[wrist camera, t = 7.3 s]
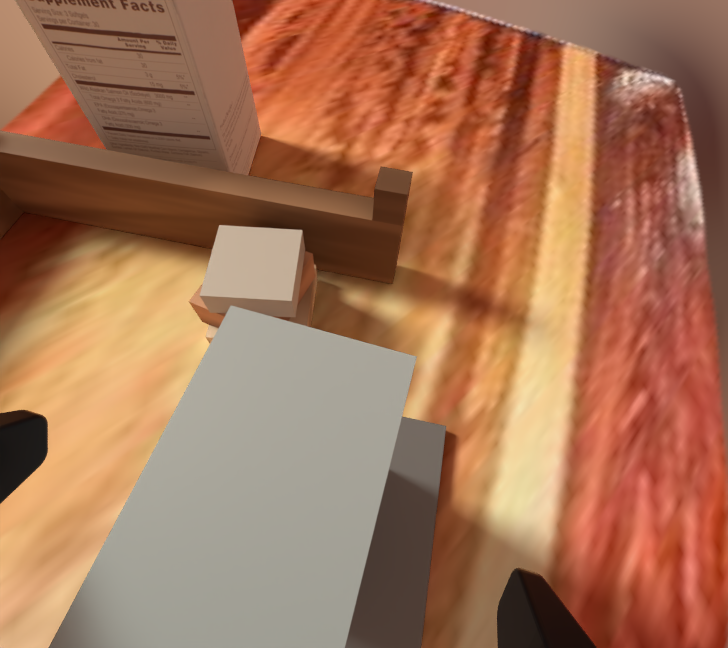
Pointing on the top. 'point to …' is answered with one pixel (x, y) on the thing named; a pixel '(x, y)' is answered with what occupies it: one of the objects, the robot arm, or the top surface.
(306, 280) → the offcut cherry
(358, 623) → the mat
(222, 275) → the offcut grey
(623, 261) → the top surface
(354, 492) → the block
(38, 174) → the frame
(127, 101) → the supplement box
